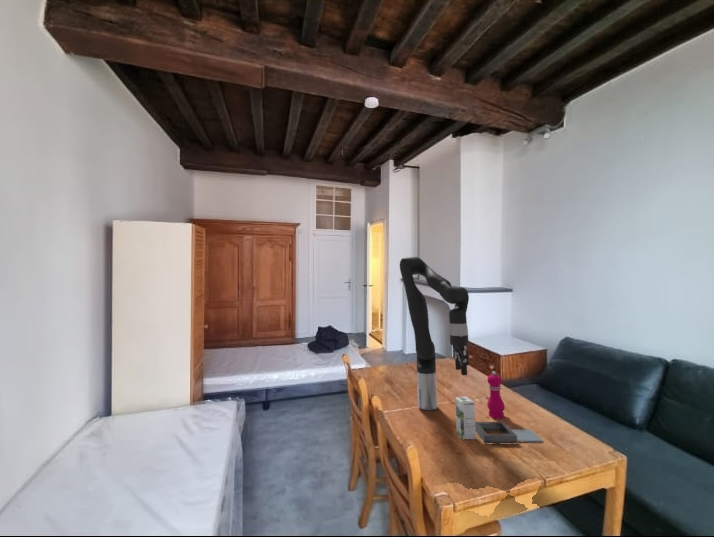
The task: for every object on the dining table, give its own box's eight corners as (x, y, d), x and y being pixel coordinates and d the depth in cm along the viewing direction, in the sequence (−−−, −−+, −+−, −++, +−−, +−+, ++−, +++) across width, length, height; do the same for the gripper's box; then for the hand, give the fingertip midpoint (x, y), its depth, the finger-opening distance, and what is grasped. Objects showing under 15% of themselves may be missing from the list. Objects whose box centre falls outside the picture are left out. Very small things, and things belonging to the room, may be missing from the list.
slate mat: (518, 442, 115) (518, 440, 115) (508, 431, 124) (507, 429, 124) (542, 442, 114) (542, 440, 114) (530, 431, 123) (530, 429, 123)
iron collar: (484, 444, 114) (484, 435, 114) (474, 429, 126) (473, 421, 126) (517, 444, 113) (516, 435, 114) (503, 429, 125) (503, 421, 126)
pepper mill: (491, 411, 143) (489, 368, 145) (507, 415, 138) (505, 371, 140) (485, 416, 138) (482, 371, 140) (501, 421, 133) (499, 374, 134)
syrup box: (456, 433, 123) (454, 396, 124) (470, 432, 124) (468, 396, 125) (462, 440, 117) (460, 402, 118) (476, 439, 118) (474, 401, 119)
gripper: (445, 331, 138) (448, 368, 137) (454, 336, 124) (457, 377, 122) (462, 331, 138) (465, 367, 136) (473, 335, 123) (476, 376, 122)
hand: (461, 372), depth 129 cm, fingers open, 8 cm apart
